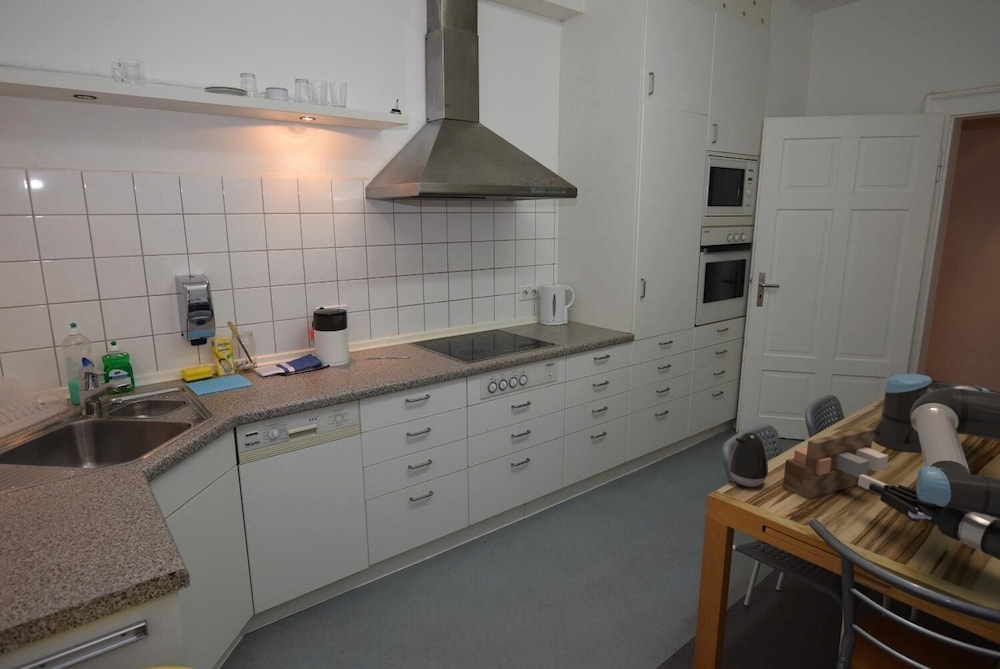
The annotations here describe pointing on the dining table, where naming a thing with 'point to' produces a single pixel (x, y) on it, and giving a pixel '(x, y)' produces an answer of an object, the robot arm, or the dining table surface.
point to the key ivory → (873, 458)
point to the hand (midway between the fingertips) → (860, 479)
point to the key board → (816, 485)
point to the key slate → (852, 464)
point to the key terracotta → (821, 464)
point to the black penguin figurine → (749, 460)
